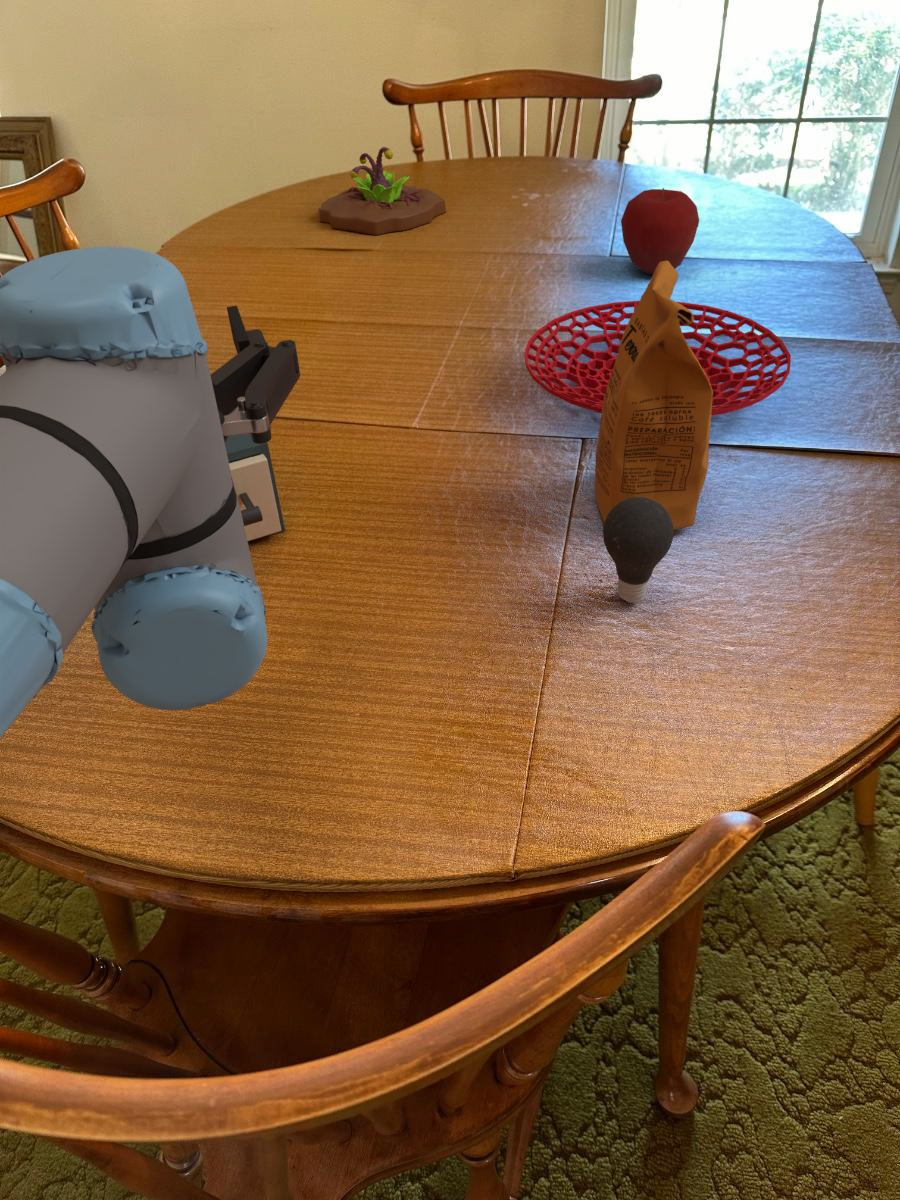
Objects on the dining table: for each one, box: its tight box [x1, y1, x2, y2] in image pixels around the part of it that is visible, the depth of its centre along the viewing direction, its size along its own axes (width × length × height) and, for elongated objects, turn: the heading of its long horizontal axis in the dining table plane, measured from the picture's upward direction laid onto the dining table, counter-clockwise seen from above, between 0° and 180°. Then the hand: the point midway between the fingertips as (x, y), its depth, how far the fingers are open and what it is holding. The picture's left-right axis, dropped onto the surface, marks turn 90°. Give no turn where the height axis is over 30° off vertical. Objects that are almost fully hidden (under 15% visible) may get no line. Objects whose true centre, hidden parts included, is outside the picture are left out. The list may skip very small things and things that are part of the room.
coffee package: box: [594, 261, 713, 531], centre depth 84 cm, size 10×12×22 cm
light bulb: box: [602, 497, 675, 604], centre depth 77 cm, size 6×6×10 cm
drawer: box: [229, 454, 281, 542], centre depth 88 cm, size 18×12×8 cm, turn 26°
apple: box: [620, 187, 700, 275], centre depth 133 cm, size 11×11×12 cm
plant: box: [318, 146, 447, 236], centre depth 160 cm, size 20×20×11 cm
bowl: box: [524, 300, 792, 417], centre depth 107 cm, size 29×29×5 cm
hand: (142, 338), depth 68 cm, fingers open, 13 cm apart
